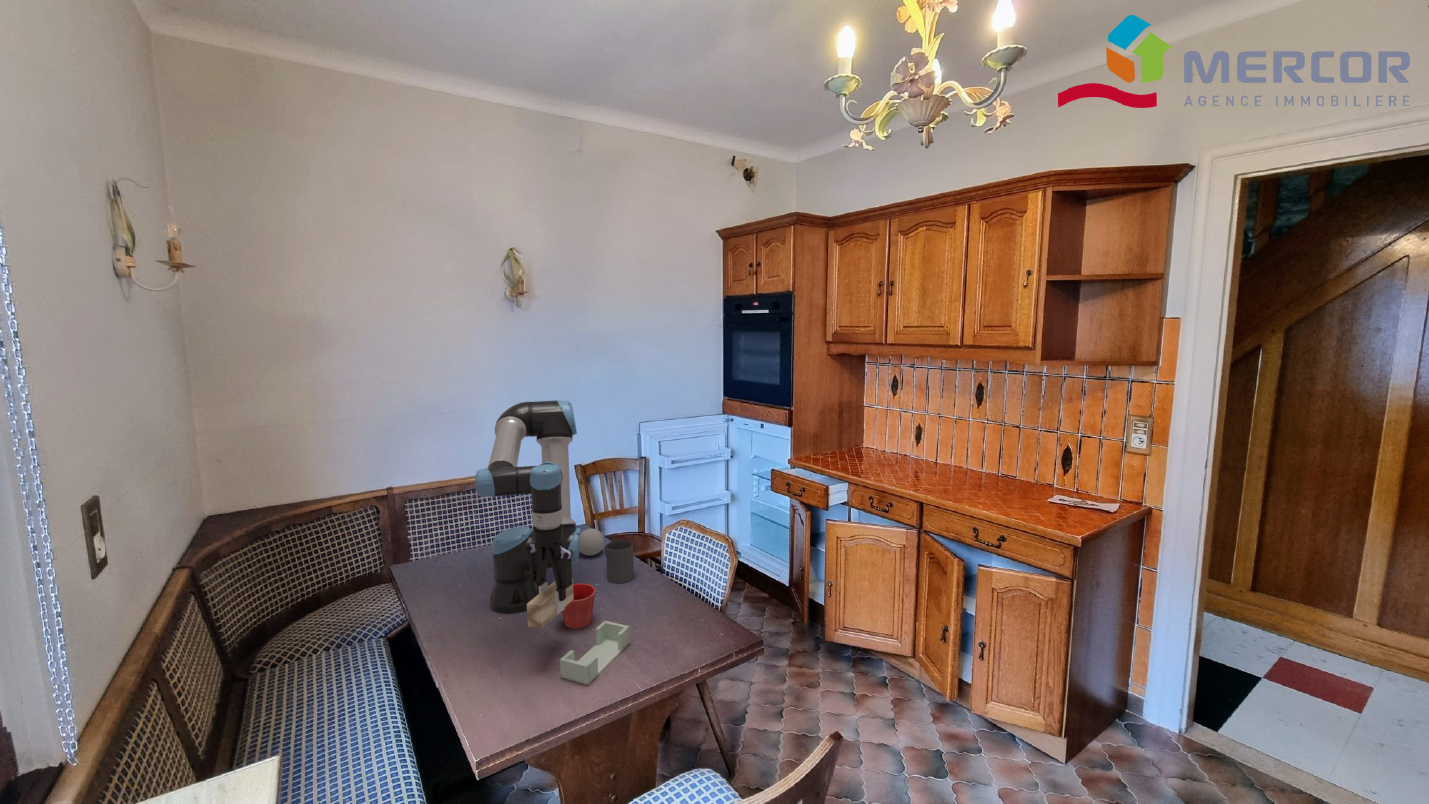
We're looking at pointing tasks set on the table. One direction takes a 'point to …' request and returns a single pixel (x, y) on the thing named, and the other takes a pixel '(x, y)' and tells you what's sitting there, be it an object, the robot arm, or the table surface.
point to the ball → (591, 542)
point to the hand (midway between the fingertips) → (552, 609)
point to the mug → (619, 561)
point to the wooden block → (545, 606)
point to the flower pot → (580, 607)
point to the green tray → (596, 654)
